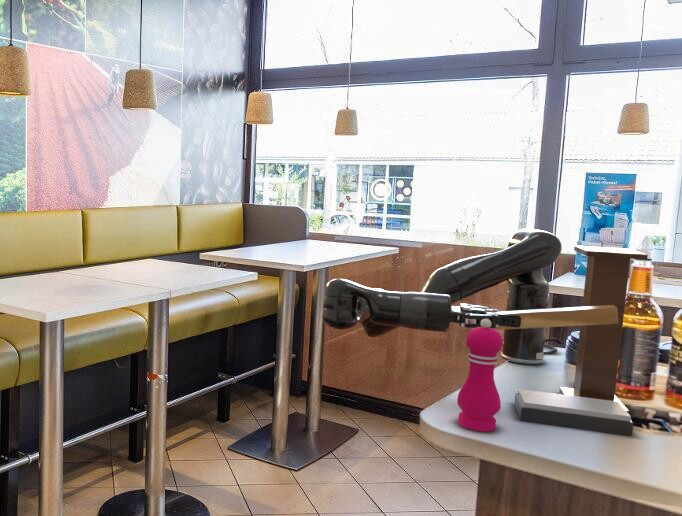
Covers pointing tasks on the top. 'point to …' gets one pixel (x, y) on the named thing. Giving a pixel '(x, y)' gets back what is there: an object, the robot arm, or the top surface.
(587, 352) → the stand
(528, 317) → the beech stick
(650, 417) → the top surface
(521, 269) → the robot arm
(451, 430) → the top surface
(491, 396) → the pepper mill
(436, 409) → the top surface
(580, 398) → the scale
